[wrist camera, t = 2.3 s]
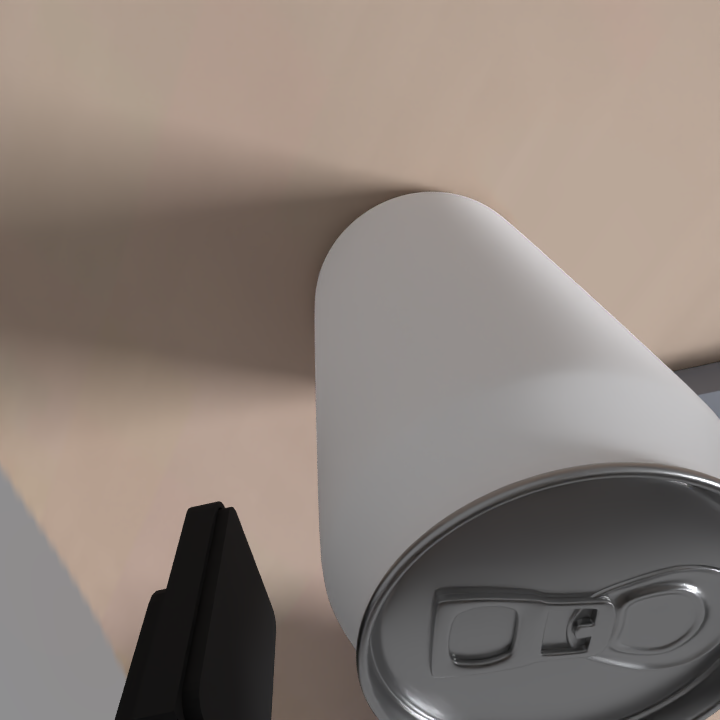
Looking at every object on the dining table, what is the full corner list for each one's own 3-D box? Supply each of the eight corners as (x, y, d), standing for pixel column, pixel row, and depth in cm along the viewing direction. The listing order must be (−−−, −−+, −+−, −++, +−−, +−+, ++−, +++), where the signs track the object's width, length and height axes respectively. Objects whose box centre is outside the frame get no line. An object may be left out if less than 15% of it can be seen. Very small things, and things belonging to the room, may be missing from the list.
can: (516, 386, 20) (747, 775, 10) (317, 394, 20) (327, 809, 9) (543, 185, 17) (924, 422, 7) (309, 188, 17) (311, 447, 6)
